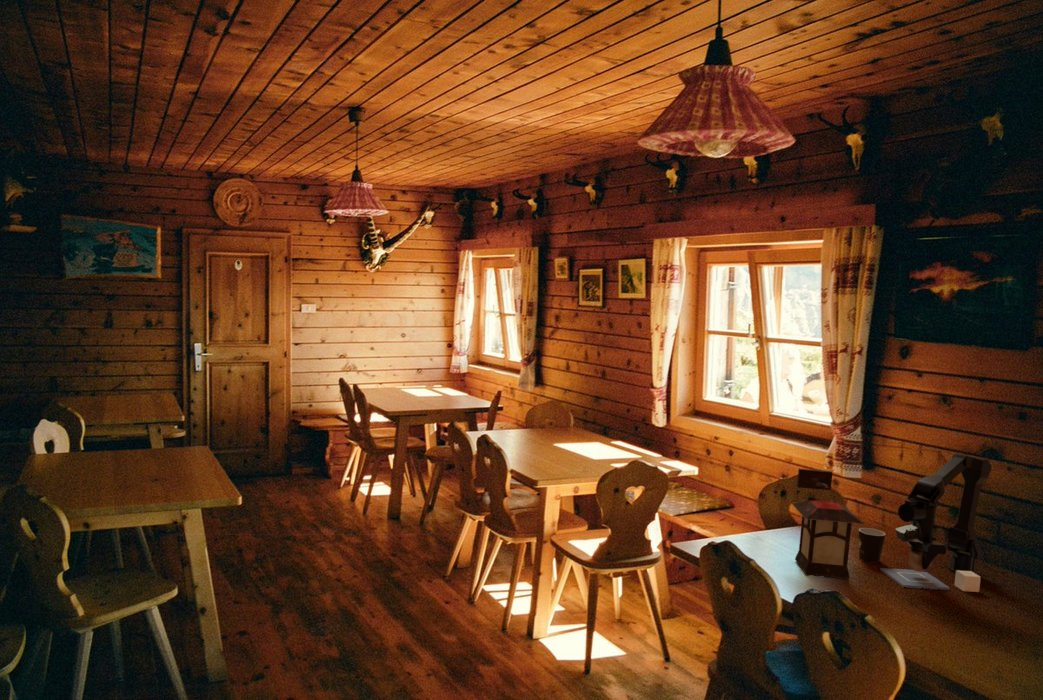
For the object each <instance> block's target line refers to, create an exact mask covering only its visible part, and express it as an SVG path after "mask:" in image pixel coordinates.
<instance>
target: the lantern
mask: <svg viewBox="0 0 1043 700" xmlns="http://www.w3.org/2000/svg"><path fill="white" fill-rule="evenodd" d="M797 472H798V473H797V482H796V487H797V488H799V489H801V488H802V489H813V490H821V493H820V495H819V498H818V500H807V501H806V500H805V501H797V502H791V505H792V506H793V507H794V508H795V509H796V511H797V512H798V513H799V514H800V515H801V526H800V527H801V528H800V535H799V536H800V537H799V545H798V547H799V548H798V552H797V554H796V556H795V558H794V561H796V564H798V566H799V567H800V569H801V570H802V571H803V572H804V574H805V576H809V575H813V576H812V577H819V576H824V577H823V578H829V577H832V578H833V579H839V578H842V579H841V580H848V579H850V572H849V568H848V563H849V562H848V560H849V556H850V555H849V552H850V543H851V542H850V541H851V534H852V524H856V525H857V524H859V525H865V523H864V522H863V521H862V520H861V519H860V518H858V516H856V515H855V514H854V513H853V512H852V511H851V510H849V509H848V507H845V506H844V505H841V504H840V503H838V502H836V498H835V495H834V493H833V491H832V482H833V471H832V470H821V469H809V468H808V469H807V468H798V471H797ZM824 491H830V492H831V494H832V497H833V500H834V502H832V501H820V499H821V496H822V495H823V492H824ZM832 578H831V579H832Z"/></svg>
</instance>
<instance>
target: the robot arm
mask: <svg viewBox="0 0 1043 700" xmlns="http://www.w3.org/2000/svg"><path fill="white" fill-rule="evenodd" d="M992 467H993V466H992V463H990V460H988V459H987V458H982V457H979V456H973V455H968V454H964V453H959V452H958V453H954V454H953V455H952V457H951V459H949V461H947V462H946V463H945V464H943V466H941V467H940V468H939V469H938V470H937V471H936V472H935V473H933V474H931V475H927V476H923V477H922V478H921V479H919V480H918V481H916V483H915V484H914V487H913V488H912V489H911V491H910V493H909V495H908V497H907V499H905V500H904V503H902V504H901V505H899V508H898V509H897V514H898V517H899V519H901V521H903V522H906V523H910V524H909V525H908V524H907V525H904V526H903V525H902V526H900V527H896V528H895V534H896V537H897V539H898V540H901V542H904V543H907V544H908V545H909V547H910V551H915V552H922V568H923V569H927V567H928V566H929V565H930V563H931V562H932V563H933V561H934V559H936V557H937V556H938V555H947V554H948V551H949V552H952V553H951V554H952V555H950V561H949V565H948V566H947V568H948V569H950V570H951V571H953V572H954V573H956V570H959V571H972V572H973V573H975V574H977V572H975V566H976V565H975V564H976V560H977V559H979V558H980V557H981V555H982V549H981V548H980V545H979V543H978V534H977V532H976V529H975V526H974V524H975V520H976V514H977V508H978V503H979V499H980V493H981V489H982V485H983V484H984V483H985V482H986V481H987V479H989V476H990V473H991V471H992ZM960 474H961V476H962V479H963V481H964V484H963V489H962V494H961V500H960V506H959V510H958V515H957V521H956V523H955V524H954V525H953V526H949V528H948V532H947V533H948V534H947V535H946V542H947V546H946V545H945V544H944V543H942V542H941V541H936V540H937V537H936V536H934V535H935V529H938V527H939V526H938V524H937V523H936V517H937V508H938V507H941V503H940V502H939V500H940V499H941V498H942V497H943V496H944V494H945V493H946V487H947V486H948V485H949V484H950V483H951V482H952V481H953V480H954V479H956V477H958V476H959V475H960ZM977 575H978V574H977Z"/></svg>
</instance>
